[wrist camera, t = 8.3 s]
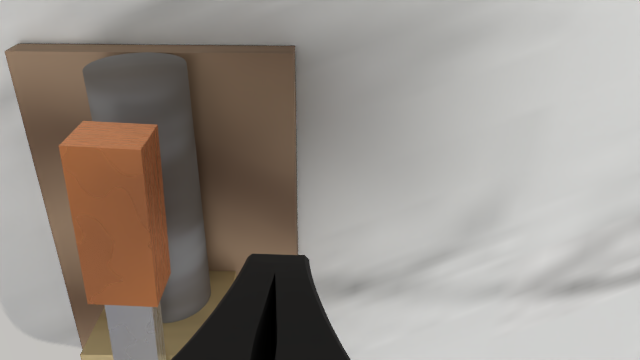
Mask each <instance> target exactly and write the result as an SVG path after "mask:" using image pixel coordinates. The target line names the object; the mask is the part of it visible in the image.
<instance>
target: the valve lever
mask: <svg viewBox="0 0 640 360" xmlns="http://www.w3.org/2000/svg"><path fill="white" fill-rule="evenodd" d="M59 151H60V156H61V162H62V167H63V173H64V178H65V183H66V189H67V194H68V200H69V205H70V211H71V216H72V222H73V227H74V233H75V238H76V243H77V249H78V254H79V260H80V265H81V271H82V276H83V282H84V287H85V293H86V298H87V303H88V304H96V305H105V311H106V317H107V323H108V329H109V335H110V341H111V347H112V353H113V359H114V360H166V353H165V343H164V333H163V324H162V314H161V305H160V300H161V297H162V295H163V292H164V289H165V287H166V284H167V282H168V279H169V276H170V274H171V268H170V257H169V246H168V235H167V224H166V213H165V201H164V190H163V179H162V168H161V157H160V146H159V135H158V125H155V124H135V123H115V122H96V121H82V122H81V123H80V125H79V126H78V127H77V128H76V129H75V130H74V131H73V132H72V133H71V134H70V135H69V136H68V137H67V138H66V139H65V140H64V141H63V142H62V143H61V144H60V145H59Z"/></svg>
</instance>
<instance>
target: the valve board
mask: <svg viewBox="0 0 640 360" xmlns="http://www.w3.org/2000/svg"><path fill="white" fill-rule="evenodd" d="M5 55H6V58H7V62H8V66H9V70H10V74H11V78H12V81H13V85H14V89H15V93H16V97H17V101H18V104H19V108H20V112H21V116H22V120H23V123H24V127H25V131H26V135H27V139H28V143H29V146H30V150H31V154H32V158H33V162H34V166H35V169H36V173H37V177H38V181H39V185H40V189H41V192H42V196H43V200H44V204H45V208H46V211H47V215H48V219H49V223H50V227H51V231H52V234H53V238H54V242H55V246H56V250H57V254H58V257H59V261H60V265H61V269H62V273H63V277H64V280H65V284H66V288H67V292H68V296H69V299H70V303H71V307H72V311H73V315H74V319H75V322H76V326H77V330H78V334H79V338H80V342H81V345H82V349H83V350H82V352H81V354H80V356H81V360H114V359H113V353H112V347H111V341H110V335H109V329H108V323H107V317H106V311H105V305H96V304H88V303H87V298H86V293H85V287H84V282H83V276H82V271H81V265H80V260H79V254H78V249H77V243H76V238H75V233H74V227H73V222H72V216H71V211H70V205H69V200H68V194H67V189H66V183H65V178H64V173H63V167H62V162H61V156H60V151H59V145H60V144H61V143H62V142H63V141H64V140H65V139H66V138H67V137H68V136H69V135H70V134H71V133H72V132H73V131H74V130H75V129H76V128H77V127H78V126H79V125H80V123H81V122H82V121H96V122H115V123H135V124H155V125H158V135H159V146H160V157H161V168H162V179H163V190H164V201H165V213H166V224H167V235H168V246H169V257H170V268H171V274H170V276H169V279H168V282H167V284H166V287H165V289H164V292H163V295H162V297H161V300H160V305H161V314H162V324H163V333H164V343H165V353H166V360H171V359H172V358H173V357H174V356H175V355H176V354H177V353H178V352H179V351H180V350H181V349H182V348H183V346H184V345H185V344H186V343H187V342H188V341H189V340H190V339H191V338H192V336H193V335H194V334H195V333H196V332H197V330H198V329H199V328H200V327H201V326H202V324H203V323H204V322H205V321H206V320H207V318H208V317H209V316H210V315H211V313H212V312H213V311H214V309H215V308H216V307H217V305H218V304H219V302H220V301H221V300H222V298H223V297H224V295H225V294H226V293H227V291H228V290H229V288H230V287H231V285H232V284H233V282H234V280H235V279H236V277H237V276H238V274H239V272H240V271H241V269H242V267H243V265H244V263H245V261H246V259H247V257H248V256H250V255H251V254H280V255H298V231H297V159H296V86H295V46H239V45H115V44H17V45H15V46H13V47H11V48H10V49H8V50H6V51H5Z"/></svg>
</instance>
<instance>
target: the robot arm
mask: <svg viewBox="0 0 640 360" xmlns="http://www.w3.org/2000/svg"><path fill="white" fill-rule="evenodd" d="M171 360H350V358H349V356H348V355H347V353H346V351H345V350H344V348H343V346H342V344H341V343H340V341H339V339H338V337H337V335H336V333H335V331H334V330H333V328H332V326H331V324H330V321H329V319H328V317H327V315H326V313H325V310H324V308H323V306H322V303H321V301H320V299H319V296H318V294H317V291H316V288H315V285H314V282H313V278H312V275H311V270H310V265H309V259H308V258H307V257H306V256H305V255H280V254H251V255H250V256H248V257H247V259H246V261H245V263H244V265H243V267H242V269H241V271H240V272H239V274H238V276H237V277H236V279H235V280H234V282H233V284H232V285H231V287H230V288H229V290H228V291H227V293H226V294H225V295H224V297H223V298H222V300H221V301H220V302H219V304H218V305H217V307H216V308H215V309H214V311H213V312H212V313H211V315H210V316H209V317H208V318H207V320H206V321H205V322H204V323H203V324H202V326H201V327H200V328H199V329H198V330H197V332H196V333H195V334H194V335H193V336H192V338H191V339H190V340H189V341H188V342H187V343H186V344H185V345H184V346H183V348H182V349H181V350H180V351H179V352H178V353H177V354H176V355H175V356H174V357H173V358H172V359H171Z"/></svg>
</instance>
